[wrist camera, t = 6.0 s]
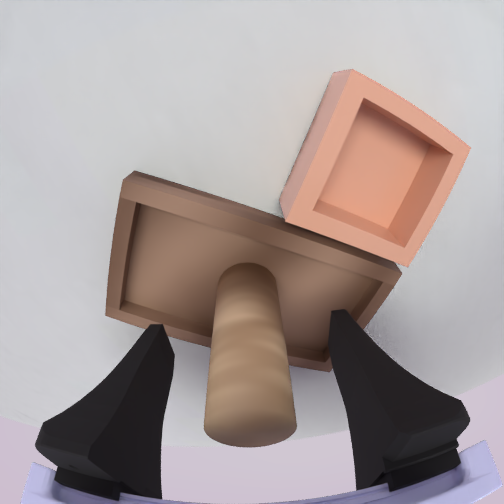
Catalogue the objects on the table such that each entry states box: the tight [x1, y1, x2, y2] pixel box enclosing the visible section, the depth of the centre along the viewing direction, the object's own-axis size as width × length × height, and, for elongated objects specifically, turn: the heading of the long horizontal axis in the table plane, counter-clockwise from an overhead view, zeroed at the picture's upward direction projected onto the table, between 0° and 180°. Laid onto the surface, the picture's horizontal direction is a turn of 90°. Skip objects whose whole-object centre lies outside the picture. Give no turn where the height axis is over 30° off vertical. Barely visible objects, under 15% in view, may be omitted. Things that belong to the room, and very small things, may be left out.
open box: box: [279, 69, 471, 267], centre depth 12 cm, size 6×6×2 cm
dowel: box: [204, 262, 297, 447], centre depth 12 cm, size 3×3×8 cm
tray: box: [105, 171, 402, 372], centre depth 15 cm, size 14×8×2 cm, turn 70°
